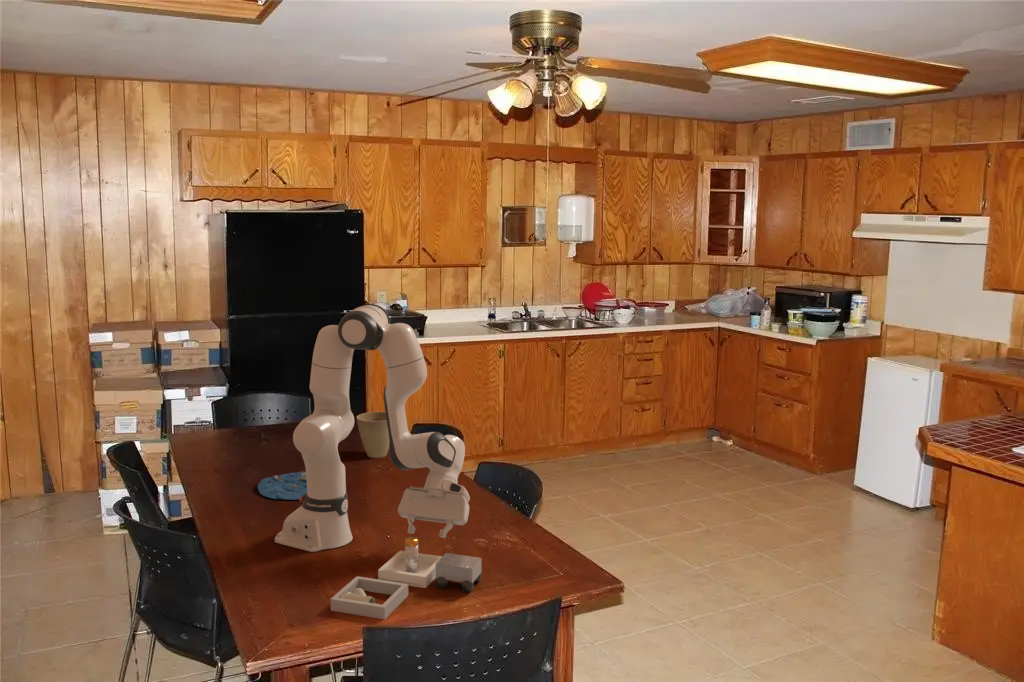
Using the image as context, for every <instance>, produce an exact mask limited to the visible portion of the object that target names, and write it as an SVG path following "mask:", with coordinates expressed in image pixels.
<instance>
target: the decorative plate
mask: <svg viewBox="0 0 1024 682" xmlns="http://www.w3.org/2000/svg"><path fill="white" fill-rule="evenodd" d="M257 489H258V493H259V494H260V495H262V496H263V497H266V498H270V499H272V500H274V499H275V500H282V499H283V501H288V500H291V501H292V500H294V501H297V500H298V501H299V500H300V499H299V498H300V497H302V496H303V495H304V494H306V493H307V477H306V471H299V472H298V471H297V472H296V471H294V472H289V473H282V474H280V475H276V474H275V475H274V474H273V476H270V477H265V478H263V479H260V481H259V483H258V484H257Z"/></svg>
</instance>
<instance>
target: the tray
mask: <svg viewBox="0 0 1024 682" xmlns="http://www.w3.org/2000/svg"><path fill="white" fill-rule="evenodd" d="M418 554H419V572H418V573H409V572H406V571H405V550H398V552H397V553H395V554H394V555H393V556H392V557H391V558H389V560H388V561H387V562H385V563H384V564H383V565H382V566H381V567H379V569H378V570H377V575H378V576H377V579H378V580H385V581H392V582H398V583H405V584H408V587H410V586H411V587H416V588H421V589H422V588H423V589H426V588H427V587H428V586H429V585H430V584H431V583H432V582H433V581H434V580H436V579H437V578H436V562H437V561H438V560H439V559H440V558H441V557H442V556H443V555H434V554H427V553H422V552H420V553H419V552H418Z"/></svg>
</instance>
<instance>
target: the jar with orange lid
mask: <svg viewBox="0 0 1024 682" xmlns="http://www.w3.org/2000/svg"><path fill="white" fill-rule="evenodd" d="M404 548H405V549H404V551H405V571H406V572H409V573H418V572H419V554H418V553H419V537H418V536H407V537H405V538H404Z"/></svg>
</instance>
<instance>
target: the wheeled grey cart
mask: <svg viewBox="0 0 1024 682" xmlns="http://www.w3.org/2000/svg"><path fill="white" fill-rule="evenodd" d="M441 556H442V557H441V558H440V559H439V560H438V561H437V562H436V578H435V579H434V580H435V581H434V584H435V586H436V588H438V589H440V590H442V589H445V588H446V587H447V586H448V585H449V581H452V582H459V583H460V589H461V591H462V592H464V593H467V594H469V593H470V592H471V591H472V590H473V589H474V586H475V584H474V583H476V584H477V583H478V582H480V580H481V579H482V578H483V577H482V576H483V574H482V571H483V565H482V557H479V556H478V557H477V556H471V555H463V554H455V553H450V552H449V553H448V552H445V553H444V554H443V555H441Z"/></svg>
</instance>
